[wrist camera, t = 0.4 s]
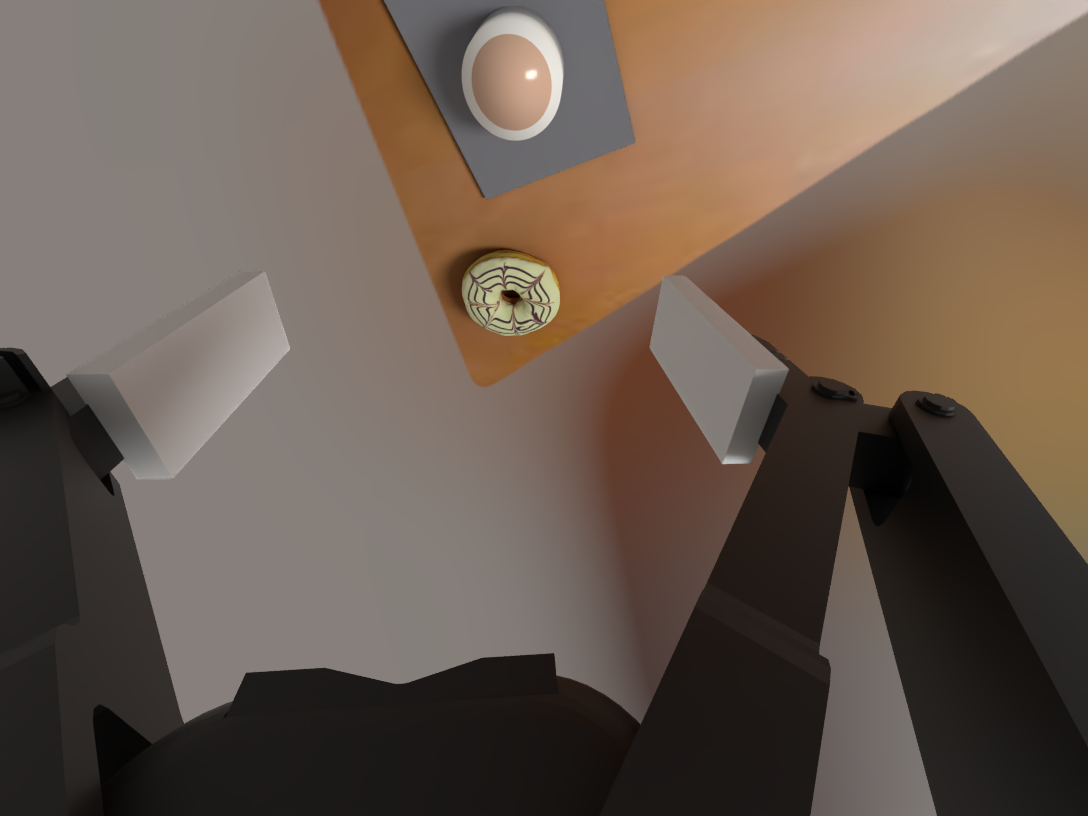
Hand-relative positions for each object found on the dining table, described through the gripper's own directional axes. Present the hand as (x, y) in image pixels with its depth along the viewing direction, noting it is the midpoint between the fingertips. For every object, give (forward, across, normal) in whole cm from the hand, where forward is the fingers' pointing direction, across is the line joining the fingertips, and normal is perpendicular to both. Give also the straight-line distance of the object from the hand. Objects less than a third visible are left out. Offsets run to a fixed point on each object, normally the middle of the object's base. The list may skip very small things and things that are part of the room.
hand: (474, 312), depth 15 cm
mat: (+27, +2, +9) cm, 28 cm away
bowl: (+26, +2, +8) cm, 28 cm away
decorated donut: (+34, +2, -10) cm, 36 cm away
